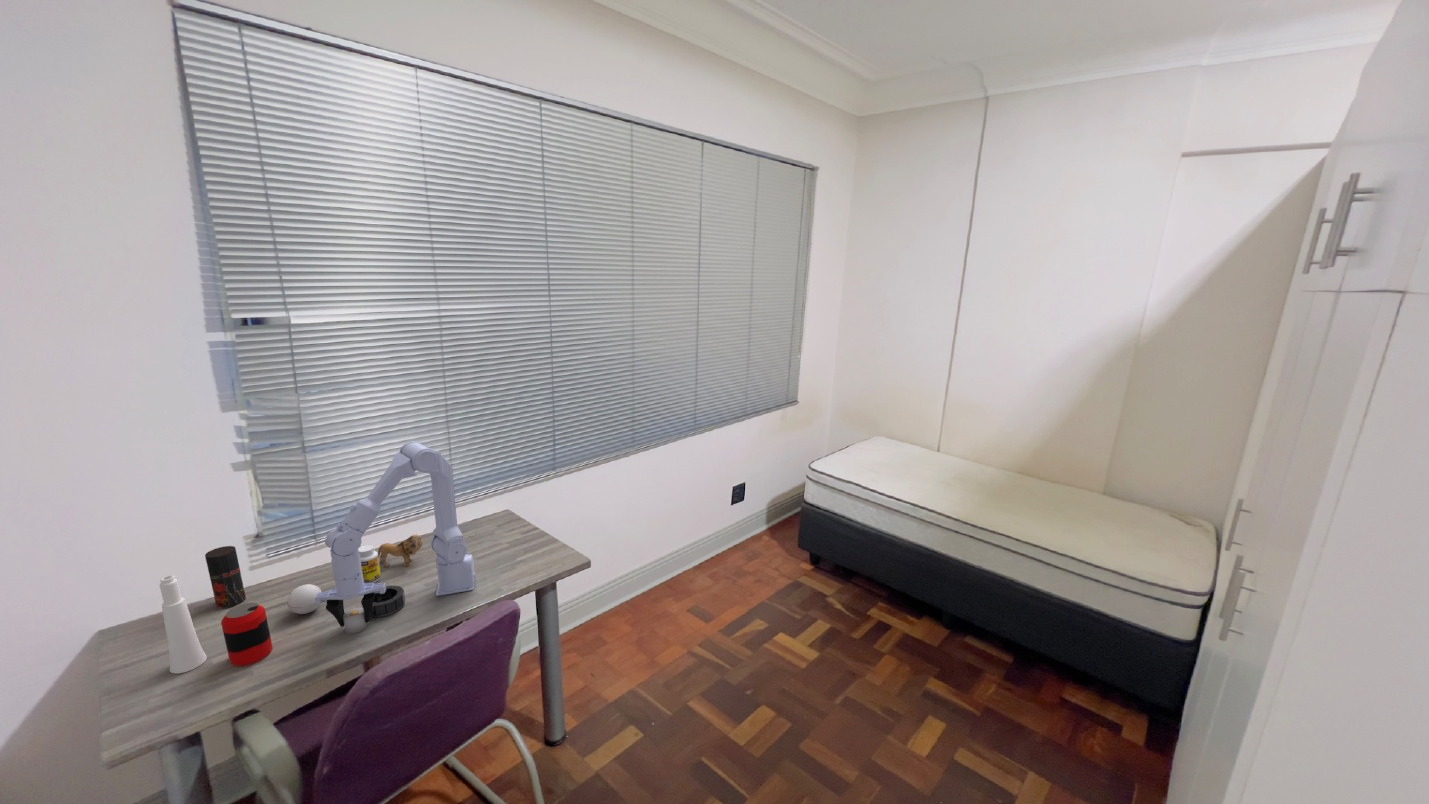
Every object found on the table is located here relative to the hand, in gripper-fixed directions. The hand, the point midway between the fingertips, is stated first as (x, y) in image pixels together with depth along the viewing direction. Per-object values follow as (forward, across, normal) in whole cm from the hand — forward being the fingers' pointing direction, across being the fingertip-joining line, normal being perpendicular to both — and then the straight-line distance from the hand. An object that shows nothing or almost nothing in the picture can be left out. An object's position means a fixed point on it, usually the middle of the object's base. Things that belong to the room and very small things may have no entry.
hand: (355, 622), depth 134 cm
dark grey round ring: (+1, -5, -7) cm, 9 cm away
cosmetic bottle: (+2, +32, +3) cm, 32 cm away
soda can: (+2, +20, +4) cm, 20 cm away
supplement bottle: (+2, +2, -23) cm, 23 cm away
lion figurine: (+2, -4, -31) cm, 31 cm away
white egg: (+2, +15, -11) cm, 19 cm away
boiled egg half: (+1, 0, 0) cm, 1 cm away
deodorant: (+2, +34, -23) cm, 41 cm away
